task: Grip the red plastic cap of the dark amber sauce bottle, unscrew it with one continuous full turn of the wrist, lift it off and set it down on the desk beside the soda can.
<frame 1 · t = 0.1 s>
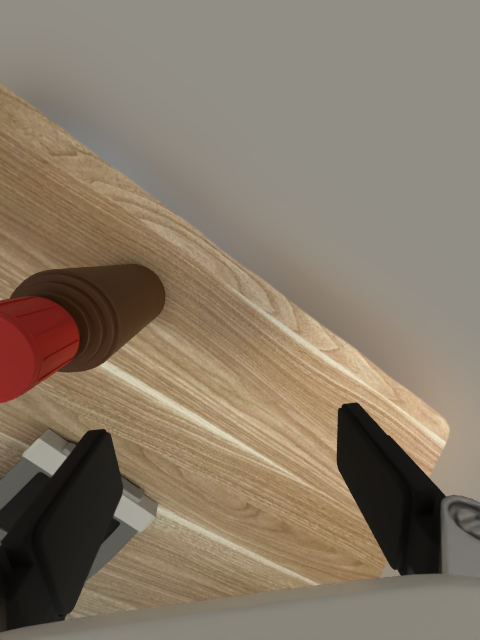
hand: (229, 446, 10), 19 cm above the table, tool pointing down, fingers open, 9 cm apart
bottle: (135, 294, 27), on the table
alarm clock: (69, 501, 33), on the table
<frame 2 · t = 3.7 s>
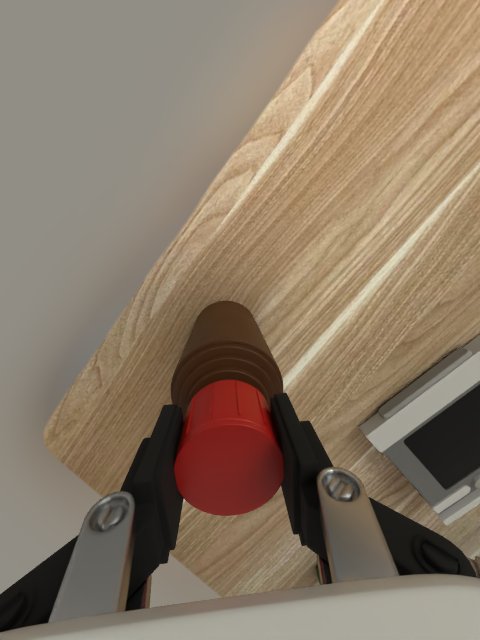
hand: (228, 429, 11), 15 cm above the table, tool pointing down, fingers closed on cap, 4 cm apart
bottle: (226, 331, 26), on the table
cap: (229, 465, 9), point 17 cm above the table, screwed on, not yet turned, touching gripper
alarm clock: (447, 420, 30), on the table
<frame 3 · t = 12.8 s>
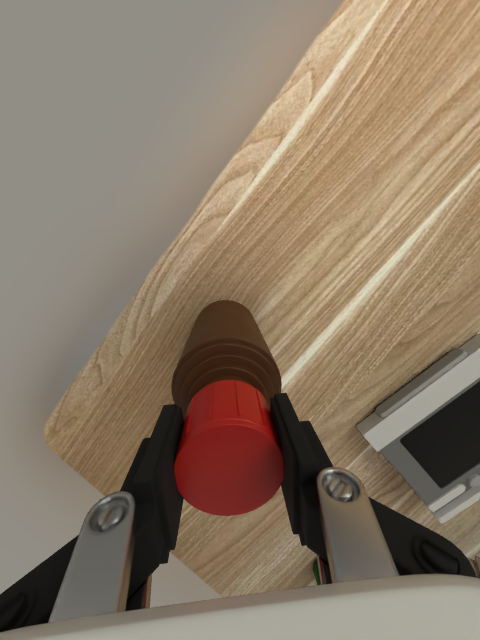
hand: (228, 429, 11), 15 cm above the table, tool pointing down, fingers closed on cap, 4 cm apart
bottle: (225, 330, 26), on the table
cap: (229, 466, 9), point 17 cm above the table, off its thread, touching gripper
alarm clock: (443, 420, 31), on the table
when the fingers open (1 cm above the table, at t = 22.3 s): cap stays where it is, point 3 cm above the table.
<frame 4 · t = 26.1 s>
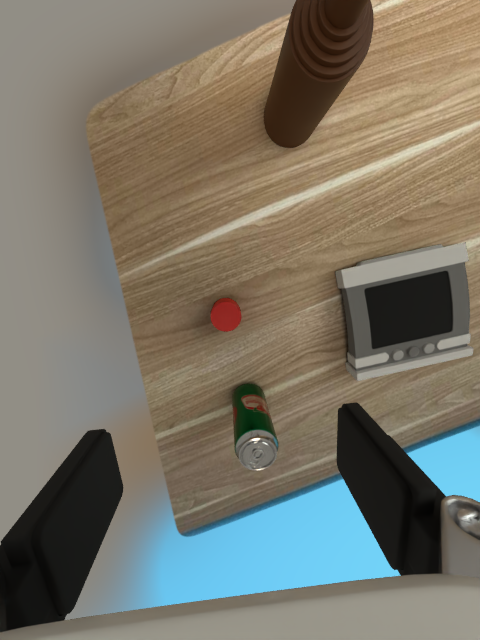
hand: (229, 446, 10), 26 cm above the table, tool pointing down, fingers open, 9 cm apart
soda can: (247, 395, 39), on the table
bottle: (289, 117, 30), on the table
cap: (226, 316, 33), point 3 cm above the table, off its thread
alarm clock: (395, 308, 37), on the table
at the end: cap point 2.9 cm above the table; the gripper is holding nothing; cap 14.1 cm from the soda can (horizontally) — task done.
